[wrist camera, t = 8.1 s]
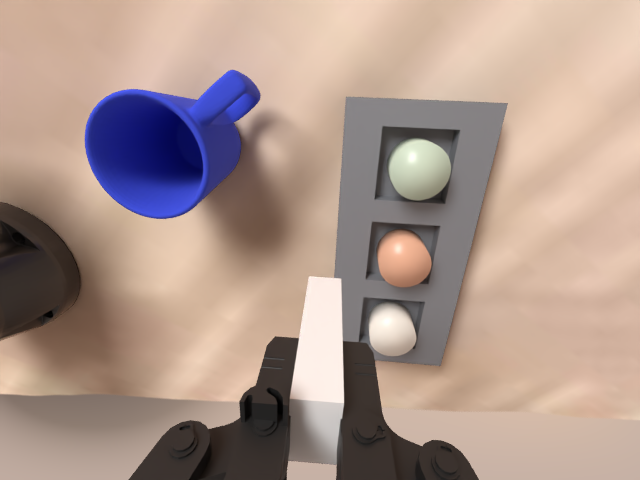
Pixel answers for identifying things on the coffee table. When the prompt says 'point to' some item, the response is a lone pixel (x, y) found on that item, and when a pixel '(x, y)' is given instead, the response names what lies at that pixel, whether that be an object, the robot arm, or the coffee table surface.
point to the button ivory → (391, 329)
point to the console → (410, 211)
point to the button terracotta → (403, 258)
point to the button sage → (418, 168)
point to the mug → (167, 144)
